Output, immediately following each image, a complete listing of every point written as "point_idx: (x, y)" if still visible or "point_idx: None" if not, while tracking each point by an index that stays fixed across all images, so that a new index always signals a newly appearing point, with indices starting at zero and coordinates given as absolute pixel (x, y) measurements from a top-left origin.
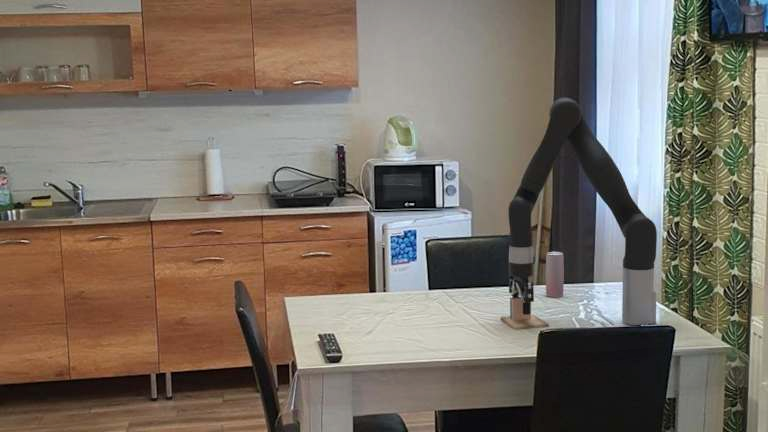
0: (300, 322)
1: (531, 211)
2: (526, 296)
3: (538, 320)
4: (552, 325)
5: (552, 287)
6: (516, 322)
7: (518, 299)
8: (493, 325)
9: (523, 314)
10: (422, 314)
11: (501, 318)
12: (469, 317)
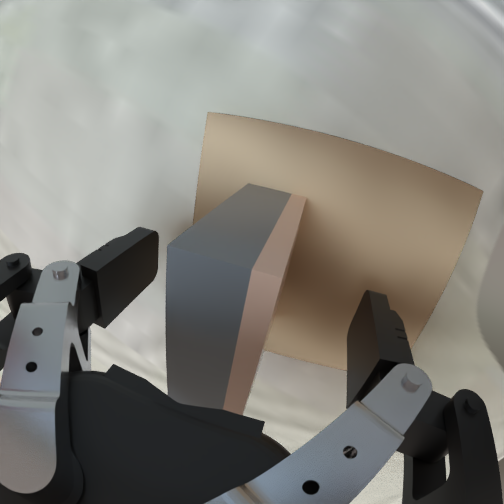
0: None
1: None
2: (437, 487)
3: (381, 185)
4: (472, 148)
5: None
6: (330, 331)
7: (247, 399)
8: (266, 390)
9: (287, 270)
10: None
11: None
12: (119, 365)
